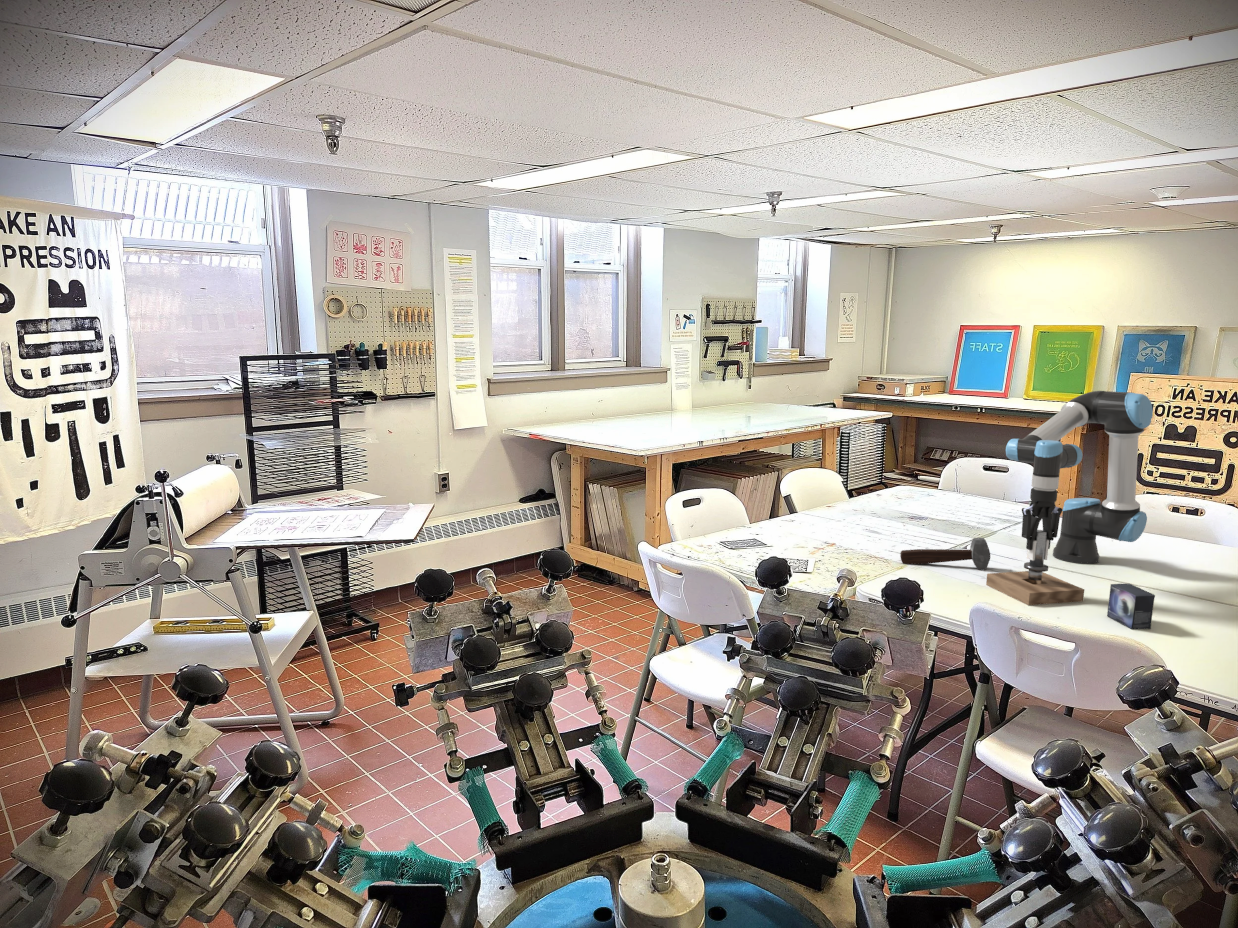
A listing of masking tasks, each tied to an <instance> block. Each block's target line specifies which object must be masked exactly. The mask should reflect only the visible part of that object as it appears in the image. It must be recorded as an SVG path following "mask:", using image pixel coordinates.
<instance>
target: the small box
mask: <svg viewBox="0 0 1238 928" xmlns="http://www.w3.org/2000/svg"><path fill="white" fill-rule="evenodd" d="M1155 597H1156V595H1155V594H1154V593H1151V592H1149V591H1147V590H1145V589H1143V588H1140V587H1138V586H1136V585H1134V584H1131V583H1127V582H1126V583H1110V589H1109V599H1108V605H1107V606H1108V607H1107V612H1106V613H1107V615H1106V617H1107V618H1110V620H1113V621H1115V622H1117V623H1119V624H1121V625H1123V626H1125V627H1126V628H1128V629H1130V630H1150V629H1152V620H1153V619H1152V618H1153V611H1154V604H1155Z"/></svg>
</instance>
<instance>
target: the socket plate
mask: <svg viewBox="0 0 1238 928" xmlns="http://www.w3.org/2000/svg"><path fill="white" fill-rule="evenodd" d="M1028 573H1029V570H1027V571H1026V570H1025V571H1024V570H1022V571H1008V572H1006V571H1005V572H990V573H989V572H988V573H986V583H985V585H986V586H987V587H989V588H992V589H994V590H996V591H997V592H1000V593H1003V594H1004V595H1006V596H1007V597H1011V599H1012V598H1013V599H1014V600H1017V601H1019V602H1020V603H1023V604H1024V605H1027V606H1037V605H1038V606H1040V605H1041V606H1042V605H1052V604H1053V605H1054V604H1064V603H1065V604H1067V603H1080V602H1081V603H1082V602H1084V598H1085V596H1084V595H1085V589H1084V588H1082V587H1079V586H1077V585H1075V584H1072V583H1070V582H1068V581H1066V580H1063V579H1061V578H1058V577H1055V576H1053V575H1051V574H1048V573H1046V572H1043V573H1042V580H1040V581H1036V580H1031V579H1029V578H1028Z"/></svg>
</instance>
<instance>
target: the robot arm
mask: <svg viewBox="0 0 1238 928" xmlns="http://www.w3.org/2000/svg"><path fill="white" fill-rule="evenodd" d="M1153 411H1154V409H1153V403H1152V401H1151V400H1150V398H1149V397H1148V396H1147V395H1145V394H1144V393H1136V392H1129V391H1127V392H1126V391H1107V390H1095V391H1090V392H1086V393H1083V394H1081V395H1078V396H1076V397H1074V398H1072V399H1070V400H1069V401H1067V402H1065V404H1063V405H1062V406H1061V408H1060V411H1059V412H1057V413H1056V414H1055V415H1053V416H1052V417H1051V418H1049V419H1048V420H1046V421H1045V422H1044V423H1043V424H1041V425H1039V426H1038V427H1036V429H1034V430H1033V431H1032V432H1030V433H1029V434H1027V435H1026V436H1025V437H1024V438H1022V439H1021V438H1011V439H1009V440H1008V442H1007V444H1006V446H1005V455H1006V458H1008V459H1009V460H1010V461H1016V462H1022V463H1029V464H1033V469H1032V478H1031V487H1032V488H1030V496H1029V498H1030V504H1029V506H1028V507H1022V508H1021V513H1022V523H1021V525H1022V526H1021V537H1022V538H1023V539H1026V544H1025V545H1026V546H1025V548H1026V550H1027V551H1026V552H1027V553H1026V559H1028V560H1029V561H1030V560H1032V561H1034V560H1035V552H1036V543H1037V541H1035V536H1036V533H1037V530H1039V525H1040V522H1042V530H1044V531H1046V532H1047V536H1046V545H1045V554H1044V561H1047V560H1048V555H1049V550H1050V548H1051V542H1052V541H1054V538H1055V539H1056V538H1057V537H1058V531H1059V525H1061V526H1060V534H1059V537H1058V540H1057V542H1056V545H1055V547H1053V549H1052V550H1053V551H1052V556H1053V557H1054V558H1056V559H1058V560H1062V561H1065V562H1068V563H1069V562H1070V563H1076V564H1083V565H1084V564H1087V565H1088V564H1090V565H1091V564H1097V563H1099V561H1100V553H1099V552H1098V551H1099V550H1098V545H1097V536H1098V537H1101V538H1107V539H1111V540H1116V541H1119V542H1126V543H1127V542H1128V543H1134V542H1135V541H1137V540H1139V538H1141V536H1142V535H1143V533H1144V530H1145V529H1146V527H1147V526H1146V525H1147V522H1148V516H1147V513H1146V512H1144V511H1142V510H1141V504H1140V503H1139V502H1138V501H1137V500H1136V496H1137V495H1136V494H1137V493H1136V492H1137V491H1136V490H1137V473H1138V471H1137V470H1138V456H1139V455H1138V453H1139V436H1140V435H1141V434H1143V433H1144V431H1145V429H1146V428H1148V427H1149V426H1150V425H1151V423H1152V419H1153V413H1154V412H1153ZM1086 424H1098V425H1099V424H1101V425H1104V432H1105V433H1106V434H1107V435H1108V436H1109V438H1108V462H1107V463H1108V464H1107V465H1108V467H1107V483H1106V485H1107V488H1106V489H1107V490H1106V499H1104V500H1103V501H1102V502H1101V500H1100V499H1099V498H1094V497H1075V498H1067V499H1066V500H1065V501H1064V503H1063V507H1058V506H1056V504H1055V503H1057V499H1058V492H1059V491H1058V489H1059V484H1060V483H1059V482H1060V472H1061V469H1067V468H1068V469H1070V468H1073V467H1075V466H1077V465H1079V464H1080V463H1081V462H1082V460H1083V457H1084V456H1083V450H1082V449H1081V448H1080V447H1079V446H1078V445H1076V444H1074V443H1070V444H1069V443H1064V444H1063V443H1062V442H1061V441H1060V440H1062V438H1064V437H1065V436H1066V435H1068V434H1069V433H1070V432H1072V430H1074V429H1076V428H1078V427H1083V426H1084V425H1086ZM1061 515H1062V516H1061ZM1060 520H1061V523H1060Z"/></svg>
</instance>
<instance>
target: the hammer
mask: <svg viewBox="0 0 1238 928" xmlns="http://www.w3.org/2000/svg"><path fill="white" fill-rule="evenodd" d="M989 548H990V547H989V545H988V542H987V540H986V539H985V537H974V538H972V540H971V542H970V547H969V549H954V548H953V549H945V548H944V549H941V548H935V549H933V548H931V549H930V548H928V549H926V548H925V549H923V548H921V549H918V548H917V549H904V550H903V549H902V550H901V551H900V553H899V554H900V561H901V563H902V564H903V565H925V564H926V565H928V564H939V563H948V562H959V561H960V562H961V561H967V560H969V561H970V560H971V561H972V562H973V564H974V566H975V568H976V569H977V570H979V571H985V570H987V569H988V567H989V563H990V561H991V551H990V549H989Z"/></svg>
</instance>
